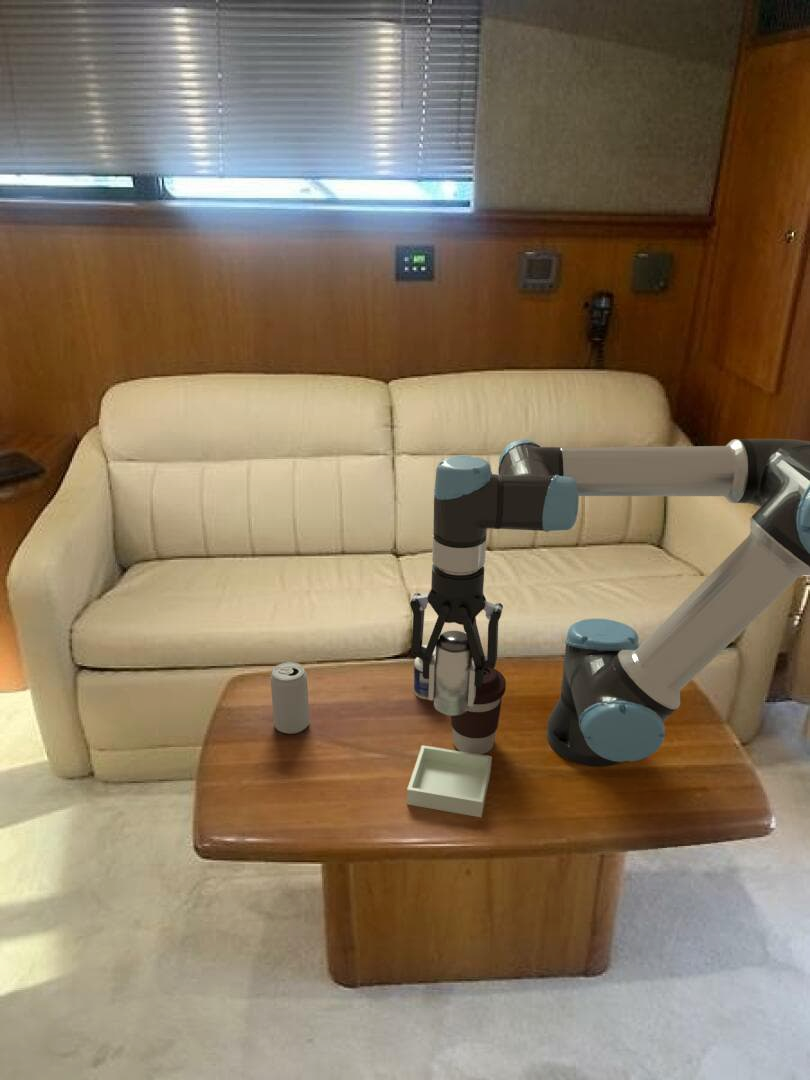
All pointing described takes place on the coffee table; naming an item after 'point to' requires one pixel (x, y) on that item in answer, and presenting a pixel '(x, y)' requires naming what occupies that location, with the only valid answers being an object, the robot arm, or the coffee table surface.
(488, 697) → the coffee cup
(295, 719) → the beverage can
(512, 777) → the coffee table surface
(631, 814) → the coffee table surface
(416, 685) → the pill bottle
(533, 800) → the coffee table surface
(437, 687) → the shaker
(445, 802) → the tray
